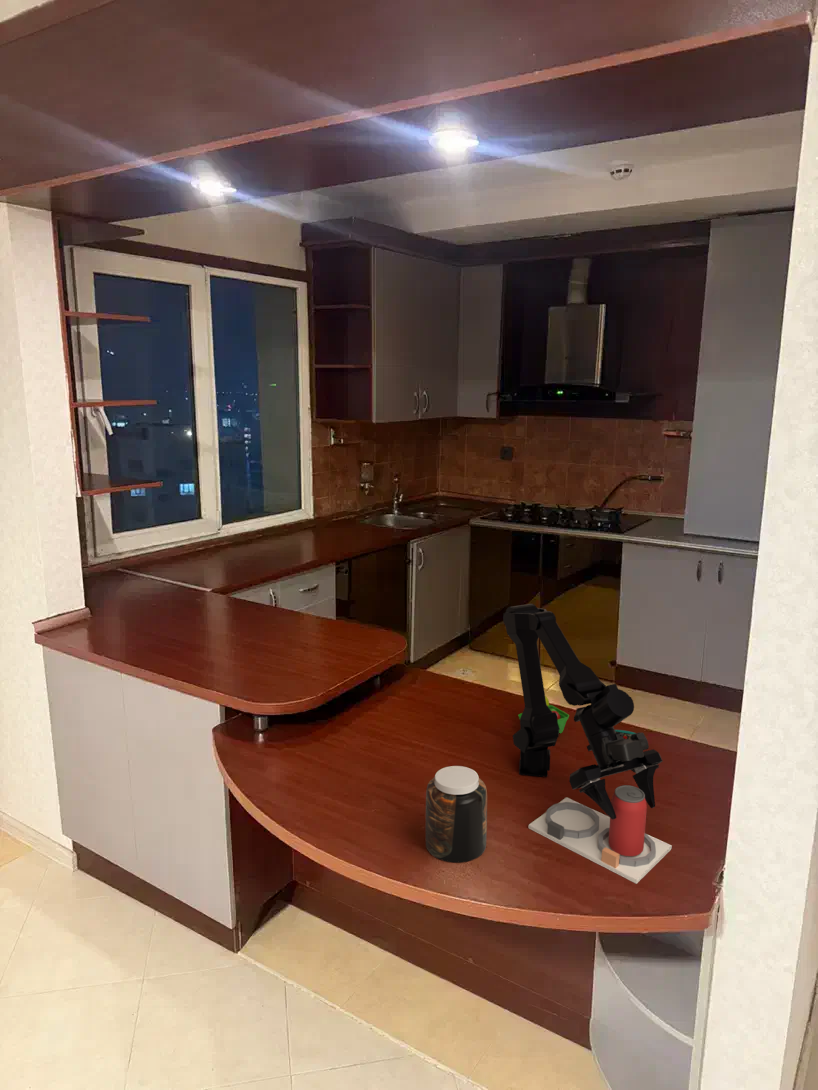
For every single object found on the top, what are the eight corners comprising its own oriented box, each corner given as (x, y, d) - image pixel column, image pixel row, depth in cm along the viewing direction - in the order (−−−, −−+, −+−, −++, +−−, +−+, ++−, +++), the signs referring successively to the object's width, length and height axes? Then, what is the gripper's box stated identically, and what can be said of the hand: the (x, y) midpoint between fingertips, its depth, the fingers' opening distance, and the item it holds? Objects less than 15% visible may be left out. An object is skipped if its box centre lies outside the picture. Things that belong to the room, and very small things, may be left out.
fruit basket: (535, 744, 186) (536, 703, 183) (513, 730, 193) (514, 690, 191) (569, 733, 191) (571, 693, 189) (547, 720, 199) (548, 681, 196)
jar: (461, 872, 139) (462, 800, 136) (414, 846, 146) (414, 778, 143) (497, 842, 148) (499, 774, 144) (450, 819, 155) (451, 754, 152)
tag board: (528, 828, 152) (529, 814, 151) (566, 800, 162) (567, 787, 161) (636, 883, 136) (637, 868, 135) (671, 849, 146) (672, 834, 145)
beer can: (638, 862, 140) (642, 806, 137) (603, 851, 144) (607, 796, 141) (647, 844, 146) (651, 789, 143) (614, 833, 149) (617, 779, 146)
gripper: (581, 730, 138) (615, 814, 131) (659, 711, 146) (696, 790, 138) (555, 748, 147) (586, 828, 140) (630, 730, 155) (663, 806, 147)
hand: (634, 813), depth 141 cm, fingers open, 9 cm apart
